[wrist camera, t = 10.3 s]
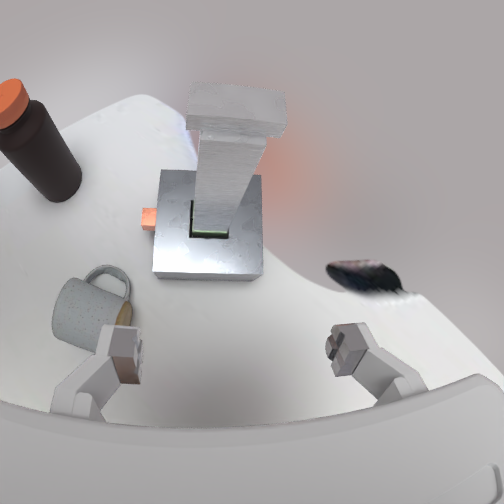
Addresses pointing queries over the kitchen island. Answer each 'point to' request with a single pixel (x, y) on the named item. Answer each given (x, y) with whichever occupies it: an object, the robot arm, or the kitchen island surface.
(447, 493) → the robot arm
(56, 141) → the bottle
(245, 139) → the column
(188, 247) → the stand sleeve
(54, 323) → the ceramic mug
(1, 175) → the kitchen island surface
